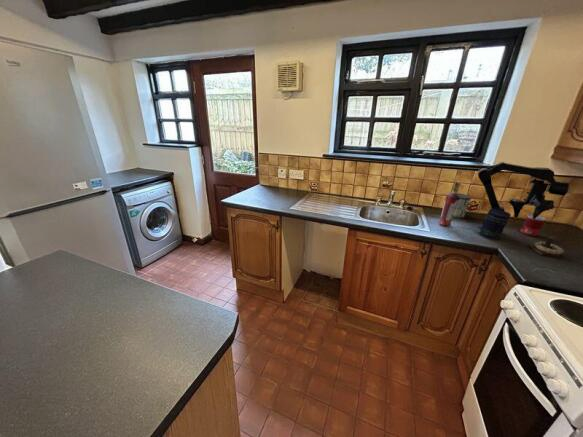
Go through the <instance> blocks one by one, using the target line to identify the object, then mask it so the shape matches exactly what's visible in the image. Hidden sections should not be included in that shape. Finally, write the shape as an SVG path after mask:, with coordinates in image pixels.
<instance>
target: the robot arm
mask: <svg viewBox="0 0 583 437" xmlns="http://www.w3.org/2000/svg"><path fill="white" fill-rule="evenodd" d="M502 171H505V172H510V173H516V174H521V175H526V176H530V177H533V178H531V179H529V180H528V182H529V183H531V184H532V185H531V187H530V189H529V191H526V195H527V196H526V198H523V200H522V199H519V198H511V199H509V201H508V204H510V205H511V206H512V209H513V214H514V218H515V219H517V218H518V216H519V215H520V213H521V211H522V210H523V209H524V207H525V206H532V207H534V211H533V214H532V215H533V219H535V218H536V217H538V216H541V214H542V213H544V212H546V211H550V210H553V209H554V207H555V205H554V204H555V201H554V200H552V199H546V195H545V193H546V192H548V195H549V194H550V195H557V196H561V197H562V196H563V197H564V196H566V195H567V194H568V192H569V185H570V182H568V181H557V180H556V178H555V172H554V170H552V169H551V168H549V167H538V166H537V167H531V166H525V165H519V164H513V163H509V162H505V161H500V162H498V163H496V164H493V165H491V166H488V167H484V168H481V169H479V170H478V171H477V177H478V179H479V181H480V182H481V183H482V185H483V187H484V189H485V192H486V196H487V198H488V201H489V202H488V203H489V205H490V209H498V210H502V211H505V207H504V205H500V204H499V201H498V198H497V195H496V192H495V190H494V187H493V183H492V182H493V180H492V176H494V175H496V174H498V173H499V172H502ZM486 216H487V214H485V217H486ZM485 220H486V219H483V222H482V225H483V224H484V222H485ZM482 225H481V226H479V227H478V228H479V229H481V227H482Z"/></svg>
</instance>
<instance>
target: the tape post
mask: <svg viewBox="0 0 583 437" xmlns="http://www.w3.org/2000/svg"><path fill="white" fill-rule="evenodd" d="M554 239H555V238H554V237H551V236H548V237H547V238H546V240H545V241H544V242H545V244H544V247H546V248H549V246H550V245H551V244H553V241H554ZM527 248H530V249H531V250H532V251H534V252H535V253H537V254H538V255H540V256H542V257H543V256H546V257H556V258H561V257H562V254H560V255H554V254H549V253H546V252H543V251H541V250H539V249H537V248H536V247H535V245H534V244H528V245H527ZM549 249H551V248H549Z"/></svg>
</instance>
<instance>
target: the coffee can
mask: <svg viewBox="0 0 583 437" xmlns="http://www.w3.org/2000/svg"><path fill="white" fill-rule="evenodd" d="M457 195H458V196H459V197H460V200H459V203H458V205H457V208H456V210H455V213H454V215H453V218H465V215H466V212H467V209H468V207H469V205H470V202H471V199H472V197H471V196H470V195H469V194H464V193H458V192H457Z"/></svg>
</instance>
